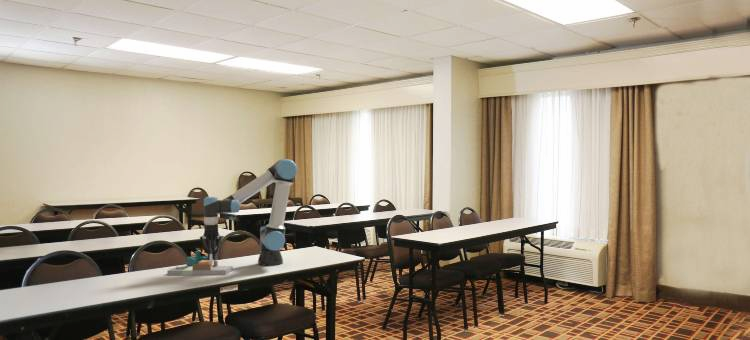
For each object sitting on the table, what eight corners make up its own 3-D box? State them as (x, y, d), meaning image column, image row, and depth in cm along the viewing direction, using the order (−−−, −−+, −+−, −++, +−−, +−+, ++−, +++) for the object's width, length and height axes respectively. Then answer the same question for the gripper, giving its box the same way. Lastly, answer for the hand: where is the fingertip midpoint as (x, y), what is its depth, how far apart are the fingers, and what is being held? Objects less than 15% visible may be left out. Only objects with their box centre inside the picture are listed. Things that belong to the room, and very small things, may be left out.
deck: (232, 270, 307) (232, 260, 306) (226, 274, 295) (225, 264, 294) (176, 270, 308) (176, 261, 308) (167, 275, 296) (167, 265, 296)
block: (212, 267, 304) (212, 260, 304) (208, 269, 298) (208, 262, 298) (202, 267, 304) (202, 260, 304) (198, 269, 298) (198, 262, 298)
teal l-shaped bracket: (214, 268, 316) (215, 251, 316) (196, 269, 309) (197, 251, 310) (203, 264, 330) (205, 247, 331) (186, 265, 324) (187, 248, 324)
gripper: (224, 223, 304) (225, 264, 304) (202, 223, 305) (203, 264, 305) (220, 224, 297) (220, 266, 297) (197, 224, 297) (198, 266, 297)
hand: (211, 265), depth 301 cm, fingers closed
